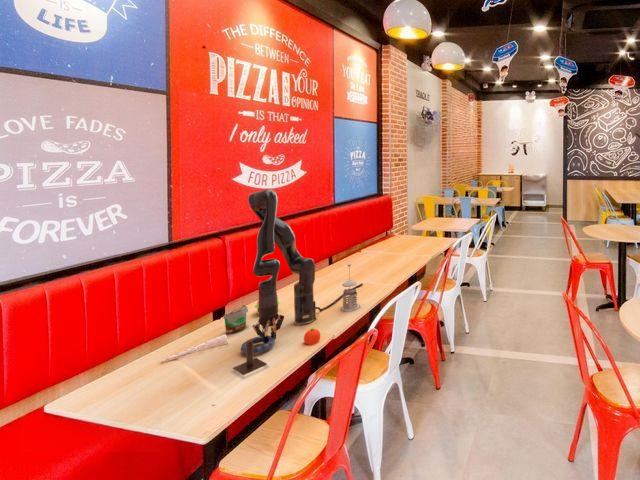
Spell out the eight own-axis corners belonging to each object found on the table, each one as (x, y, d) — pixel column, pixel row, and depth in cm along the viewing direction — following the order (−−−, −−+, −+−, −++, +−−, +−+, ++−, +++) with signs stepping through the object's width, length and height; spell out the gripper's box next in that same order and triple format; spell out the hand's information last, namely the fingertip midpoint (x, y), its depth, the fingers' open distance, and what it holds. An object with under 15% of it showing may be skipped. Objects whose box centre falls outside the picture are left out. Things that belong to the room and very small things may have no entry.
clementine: (304, 341, 177) (303, 326, 177) (320, 338, 180) (320, 323, 180) (303, 349, 170) (303, 333, 170) (320, 346, 172) (320, 330, 172)
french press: (362, 304, 221) (361, 261, 220) (353, 312, 209) (352, 267, 209) (345, 304, 222) (344, 261, 221) (336, 312, 210) (335, 267, 210)
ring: (265, 337, 176) (264, 332, 176) (280, 344, 170) (280, 339, 170) (235, 350, 166) (234, 344, 166) (250, 358, 159) (250, 352, 159)
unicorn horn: (160, 359, 163) (160, 348, 163) (226, 342, 177) (226, 332, 177) (159, 364, 159) (159, 352, 159) (227, 346, 174) (227, 336, 174)
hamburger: (257, 318, 204) (257, 302, 203) (253, 312, 213) (252, 296, 212) (282, 312, 211) (282, 296, 211) (276, 306, 220) (276, 291, 220)
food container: (234, 336, 184) (233, 315, 184) (223, 335, 185) (223, 314, 185) (254, 324, 196) (253, 305, 196) (244, 324, 197) (243, 304, 197)
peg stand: (256, 361, 160) (255, 333, 160) (267, 367, 155) (266, 339, 155) (232, 371, 153) (232, 342, 153) (243, 378, 148) (242, 348, 148)
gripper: (278, 297, 179) (280, 333, 180) (247, 307, 168) (249, 346, 168) (287, 300, 175) (289, 337, 176) (256, 311, 164) (258, 351, 164)
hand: (269, 341), depth 172 cm, fingers closed on ring, 2 cm apart
